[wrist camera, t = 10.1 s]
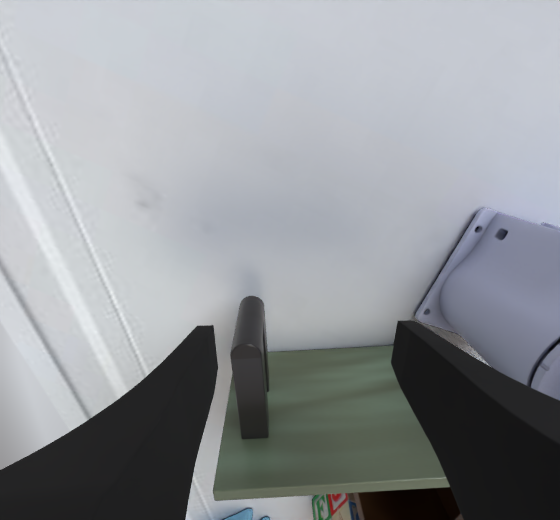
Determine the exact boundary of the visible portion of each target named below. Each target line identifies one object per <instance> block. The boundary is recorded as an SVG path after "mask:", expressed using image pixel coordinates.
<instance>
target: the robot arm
mask: <svg viewBox="0 0 560 520" xmlns="http://www.w3.org/2000/svg"><path fill="white" fill-rule="evenodd" d="M477 226H479V228H478V230H477V231H475V228H476V227H477ZM426 309H428V310H427V311H426V312H424V311H425V310H426ZM415 317H416V319H417V320H418V321H419V322H422V323H425V324H428V325H431V326H435V327H438V328H441V329H444V330H447V331H451V332H454V333H457V334H460V335H461V336H462V337H463V338H464V339H465V340H466V341H467V342H468V344H469V345H470V346H471V347H472V348H473V349H474V350H475V351H476V352H477V353H478V354H479V355H480V356H481V357H482V358H483V359H484V360H485V361H486V362H487V363H488V364H489V365H490V366H491V367H490V366H488V365H486V364H484V363H483V362H481V361H479V360H477V359H476V358H474V357H472V356H471V355H469V354H467V353H466V352H464V351H462V350H461V349H459V348H457V347H456V346H454V345H453V344H451V343H449V342H448V341H446V340H445V339H443V338H442V337H440V336H438V335H437V334H435V333H434V332H432V331H430V330H429V329H427V328H426V327H424V326H422V325H421V324H419V323H417V322H415V321H398V323H397V329H396V335H395V341H394V346H393V352H392V358H391V365H392V367H393V370H394V373H395V376H396V378H397V381H398V383H399V386H400V388H401V390H402V392H403V394H404V395H405V397H406V399H407V401H408V403H409V405H410V407H411V409H412V410H413V412H414V414H415V416H416V418H417V420H418V421H419V423H420V425H421V427H422V429H423V431H424V432H425V434H426V436H427V438H428V440H429V442H430V443H431V445H432V447H433V449H434V451H435V453H436V455H437V457H438V460H439V462H440V464H441V467H442V469H443V471H444V474H445V476H446V478H447V481H448V483H449V485H450V488H451V490H452V492H453V495H454V497H455V500H456V502H457V505H458V507H459V510H460V512H461V515H462V517H463V520H560V227H557V226H554V225H551V224H548V223H544V222H543V223H541V225H539V224H535V223H532V222H529V221H526V220H522V219H519V218H516V217H513V216H509V215H506V214H503V213H500V212H497V211H494V210H492V209H489V208H482V209H481V210H479V211H478V212H477V214H476V216H475V217H474V219H473V221H472V222H471V224H470V226H469V227H468V229H467V230H466V232H465V234H464V235H463V237H462V239H461V240H460V242H459V244H458V245H457V247H456V248H455V250H454V252H453V253H452V255H451V257H450V258H449V260H448V262H447V263H446V265H445V267H444V268H443V270H442V271H441V273H440V275H439V276H438V278H437V280H436V281H435V283H434V285H433V286H432V288H431V289H430V291H429V293H428V294H427V296H426V298H425V299H424V301H423V303H422V304H421V306H420V308H419V309H418V311H417V312H416V315H415ZM217 370H218V364H217V355H216V345H215V336H214V327H213V325H211V326H197V327H196V328H195V329H194V330H193V331H192V332H191V333H190V334H189V335H188V336H187V337H186V338H185V339H184V340H183V341H182V343H181V344H180V345H179V346H178V347H177V348H176V349H175V350H174V351H173V352H172V353H171V354H170V355H169V356H168V357H167V358H166V359H165V360H164V361H163V362H162V363H161V364H160V365H159V366H158V367H157V368H155V369H154V370H153V371H152V372H151V373H150V374H149V375H148V376H147V377H146V378H144V379H143V380H142V381H141V382H140V383H139V384H137V385H136V386H135V387H134V388H132V389H131V390H130V391H129V392H127V393H126V394H125V395H123V396H122V397H121V398H120V399H118V400H117V401H115V402H114V403H113V404H111V405H110V406H108V407H107V408H105V409H104V410H102V411H101V412H100V413H98V414H97V415H95V416H94V417H92V418H91V419H89V420H88V421H86V422H85V423H83V424H82V425H80V426H79V427H77V428H75V429H74V430H72V431H70V432H69V433H67V434H66V435H64V436H62V437H61V438H59V439H57V440H55V441H54V442H52V443H50V444H48V445H47V446H45V447H43V448H42V449H40V450H38V451H36V452H34V453H32V454H31V455H29V456H27V457H25V458H23V459H21V460H19V461H17V462H15V463H13V464H12V465H9V466H7V467H6V468H4V469H2V470H0V520H185V517H186V511H187V505H188V499H189V494H190V488H191V483H192V477H193V472H194V466H195V462H196V458H197V454H198V450H199V446H200V443H201V439H202V435H203V432H204V428H205V425H206V421H207V417H208V414H209V410H210V406H211V403H212V399H213V395H214V390H215V384H216V377H217Z"/></svg>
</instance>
